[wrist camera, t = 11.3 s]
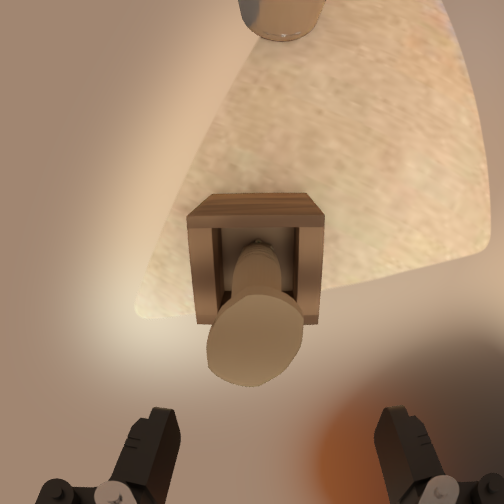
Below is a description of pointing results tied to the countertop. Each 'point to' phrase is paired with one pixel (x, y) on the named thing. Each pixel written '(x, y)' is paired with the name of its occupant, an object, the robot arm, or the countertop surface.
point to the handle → (255, 322)
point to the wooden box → (245, 233)
